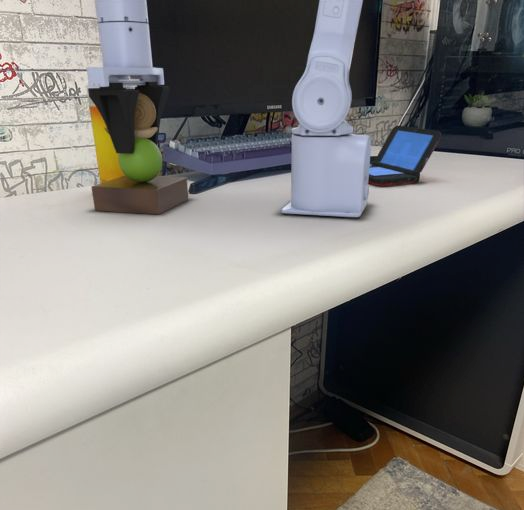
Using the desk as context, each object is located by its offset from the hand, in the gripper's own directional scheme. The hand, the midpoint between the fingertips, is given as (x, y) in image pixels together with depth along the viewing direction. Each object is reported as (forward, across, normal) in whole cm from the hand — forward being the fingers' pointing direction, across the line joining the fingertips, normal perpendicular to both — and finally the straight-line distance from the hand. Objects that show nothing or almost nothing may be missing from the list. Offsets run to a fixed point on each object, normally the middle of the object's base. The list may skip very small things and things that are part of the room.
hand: (137, 150), depth 67 cm
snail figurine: (+4, 0, 0) cm, 4 cm away
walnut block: (+7, 0, 0) cm, 7 cm away
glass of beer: (+7, -7, -7) cm, 12 cm away
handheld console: (+7, -28, +29) cm, 41 cm away
